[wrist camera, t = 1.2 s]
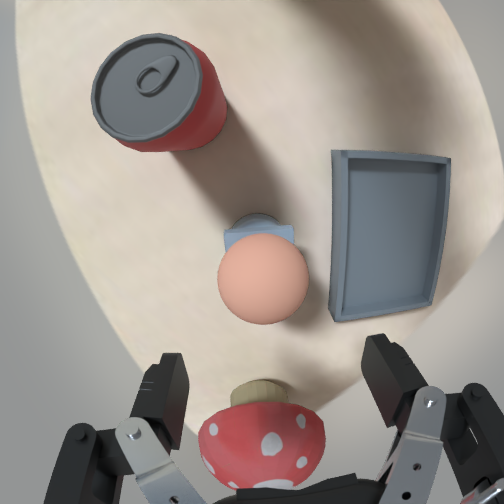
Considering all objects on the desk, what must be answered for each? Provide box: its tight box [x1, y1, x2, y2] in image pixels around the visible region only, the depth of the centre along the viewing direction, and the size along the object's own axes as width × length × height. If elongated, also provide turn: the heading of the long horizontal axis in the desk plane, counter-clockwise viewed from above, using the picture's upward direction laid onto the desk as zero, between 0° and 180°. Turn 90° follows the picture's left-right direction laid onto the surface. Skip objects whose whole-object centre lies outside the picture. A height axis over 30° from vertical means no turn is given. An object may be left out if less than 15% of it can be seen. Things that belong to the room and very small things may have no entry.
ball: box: [217, 233, 309, 325], centre depth 19 cm, size 6×6×6 cm
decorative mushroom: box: [198, 380, 326, 490], centre depth 26 cm, size 13×13×15 cm
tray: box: [328, 150, 451, 322], centre depth 25 cm, size 16×12×2 cm
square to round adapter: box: [224, 213, 294, 252], centre depth 23 cm, size 5×5×5 cm
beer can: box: [91, 33, 227, 152], centre depth 16 cm, size 7×7×12 cm
